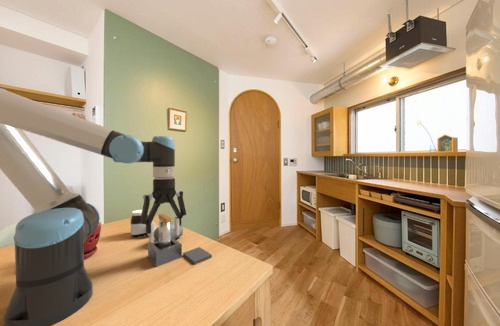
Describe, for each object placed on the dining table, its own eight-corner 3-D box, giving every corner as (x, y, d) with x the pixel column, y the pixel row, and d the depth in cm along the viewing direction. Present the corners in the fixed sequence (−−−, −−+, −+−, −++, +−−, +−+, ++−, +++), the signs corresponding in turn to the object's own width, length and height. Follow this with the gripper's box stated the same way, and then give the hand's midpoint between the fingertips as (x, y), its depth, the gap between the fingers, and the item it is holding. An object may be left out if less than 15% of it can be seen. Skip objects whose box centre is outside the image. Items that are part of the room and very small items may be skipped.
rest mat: (194, 264, 66) (194, 261, 66) (183, 255, 73) (183, 252, 72) (211, 257, 71) (211, 254, 71) (199, 249, 77) (199, 247, 77)
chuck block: (156, 266, 65) (156, 252, 65) (148, 257, 71) (148, 244, 71) (181, 257, 71) (181, 244, 71) (172, 249, 78) (171, 237, 77)
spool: (163, 242, 76) (161, 218, 81) (149, 249, 80) (147, 225, 84) (189, 239, 88) (186, 218, 92) (176, 245, 91) (173, 224, 95)
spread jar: (132, 232, 96) (132, 209, 96) (157, 228, 101) (156, 207, 101) (128, 241, 85) (128, 215, 85) (156, 237, 90) (156, 212, 90)
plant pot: (73, 267, 64) (73, 232, 64) (44, 263, 67) (44, 230, 67) (109, 250, 77) (109, 220, 77) (83, 247, 80) (83, 219, 80)
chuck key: (163, 263, 67) (163, 219, 67) (155, 255, 73) (155, 215, 72) (174, 259, 70) (174, 217, 69) (166, 251, 75) (166, 213, 75)
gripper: (134, 181, 61) (134, 250, 61) (195, 176, 76) (195, 232, 76) (128, 179, 66) (129, 243, 66) (186, 175, 81) (187, 228, 81)
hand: (164, 237), depth 71 cm, fingers open, 9 cm apart
